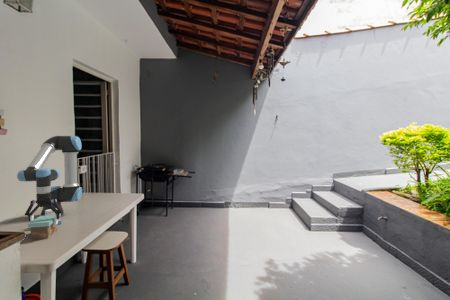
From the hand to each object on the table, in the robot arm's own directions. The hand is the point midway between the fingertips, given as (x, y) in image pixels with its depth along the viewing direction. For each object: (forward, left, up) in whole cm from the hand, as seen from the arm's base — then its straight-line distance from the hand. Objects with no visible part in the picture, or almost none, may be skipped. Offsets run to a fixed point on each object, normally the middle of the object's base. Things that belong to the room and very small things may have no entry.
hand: (44, 224), depth 154 cm
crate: (0, 0, -7) cm, 7 cm away
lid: (0, 0, 0) cm, 0 cm away
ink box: (-18, -2, -7) cm, 19 cm away
